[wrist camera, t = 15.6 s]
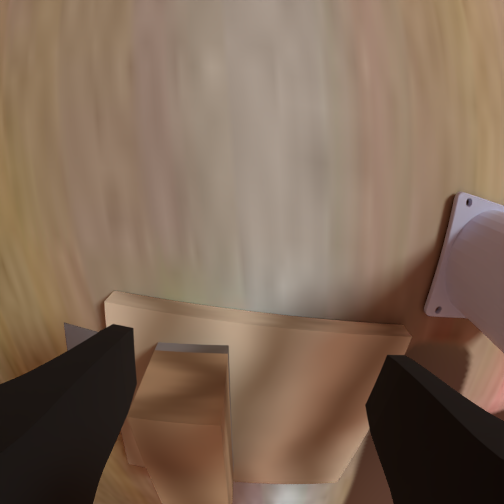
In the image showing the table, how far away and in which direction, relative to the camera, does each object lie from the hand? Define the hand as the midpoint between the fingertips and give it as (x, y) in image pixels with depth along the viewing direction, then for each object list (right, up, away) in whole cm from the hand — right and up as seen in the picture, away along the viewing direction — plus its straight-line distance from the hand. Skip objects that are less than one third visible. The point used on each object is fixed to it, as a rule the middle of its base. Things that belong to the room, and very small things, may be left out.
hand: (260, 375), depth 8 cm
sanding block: (-4, -7, +11) cm, 13 cm away
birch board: (-1, -8, +12) cm, 15 cm away
